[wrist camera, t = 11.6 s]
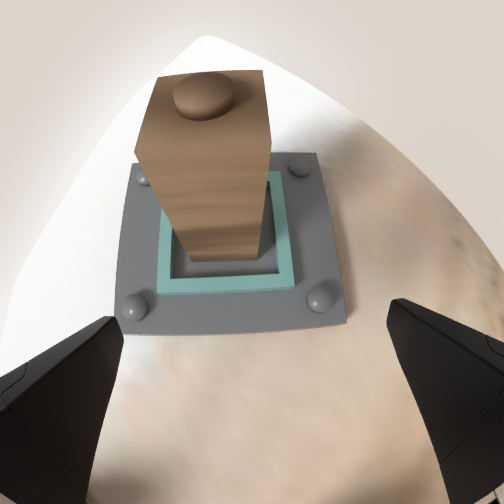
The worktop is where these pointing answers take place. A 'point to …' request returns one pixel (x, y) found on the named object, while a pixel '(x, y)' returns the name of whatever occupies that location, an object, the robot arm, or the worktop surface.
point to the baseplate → (232, 264)
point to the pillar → (209, 160)
